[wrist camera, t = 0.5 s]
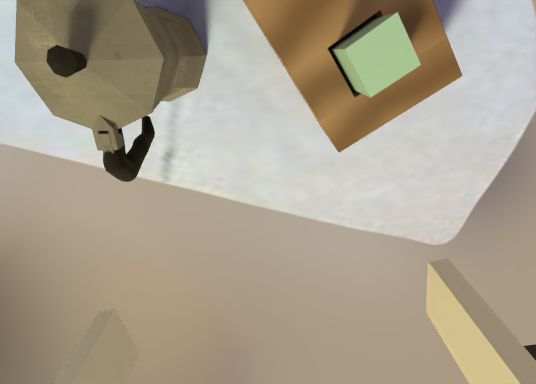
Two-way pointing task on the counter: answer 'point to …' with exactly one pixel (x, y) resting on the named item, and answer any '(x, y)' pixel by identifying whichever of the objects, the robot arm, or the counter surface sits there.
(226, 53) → the counter surface
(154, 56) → the coffeepot
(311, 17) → the socket block
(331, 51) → the light green block
